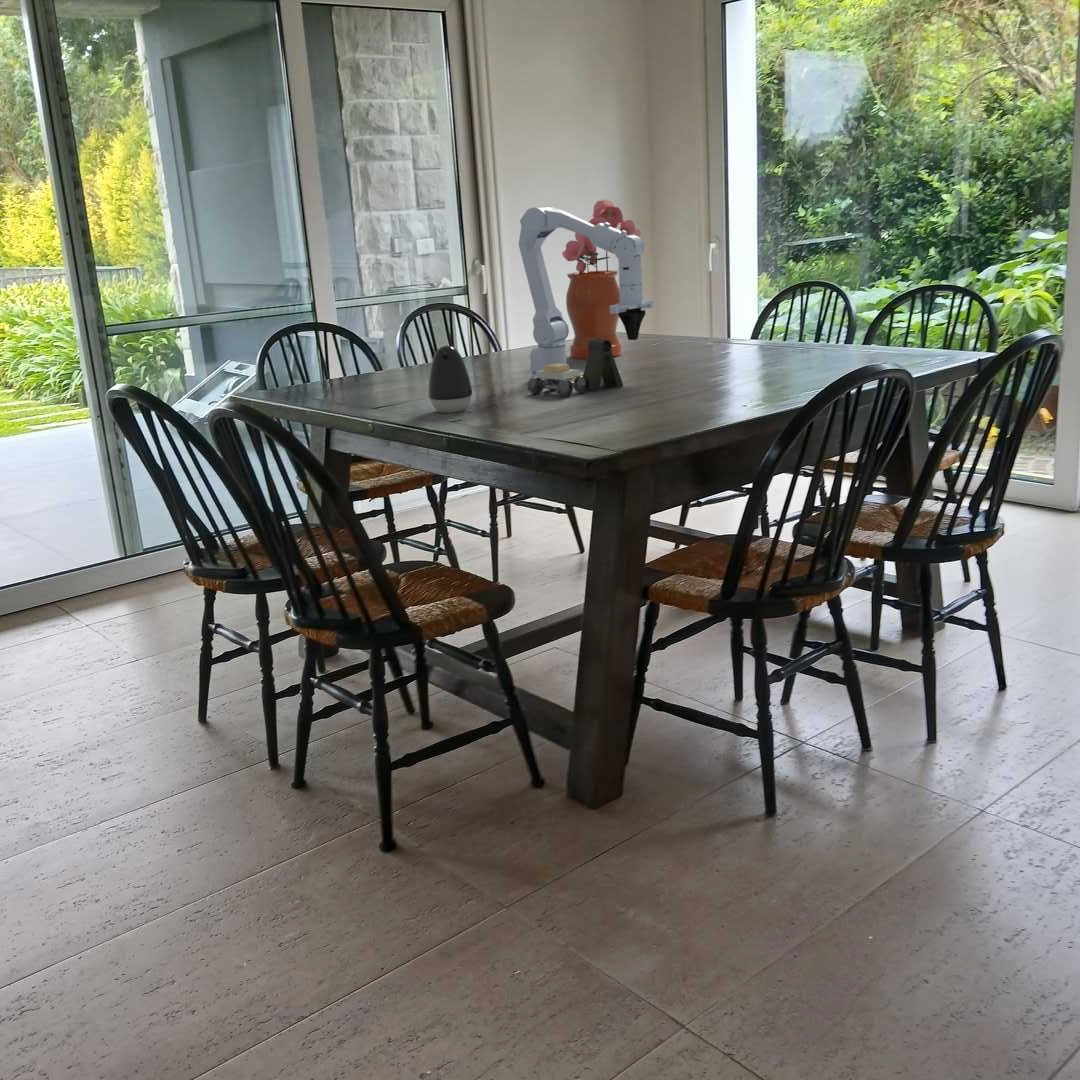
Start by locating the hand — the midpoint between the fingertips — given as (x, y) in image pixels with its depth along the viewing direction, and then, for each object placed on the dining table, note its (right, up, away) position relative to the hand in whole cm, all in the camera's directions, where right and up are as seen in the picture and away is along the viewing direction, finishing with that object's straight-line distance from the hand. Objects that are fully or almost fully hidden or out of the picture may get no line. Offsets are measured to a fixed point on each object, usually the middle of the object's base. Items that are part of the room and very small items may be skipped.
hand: (632, 339), depth 284 cm
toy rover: (-19, -15, -9) cm, 26 cm away
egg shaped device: (-44, -21, -24) cm, 54 cm away
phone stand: (-8, -13, -5) cm, 16 cm away
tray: (-8, -9, +6) cm, 14 cm away
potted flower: (-5, +5, +54) cm, 54 cm away
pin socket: (-12, -11, +1) cm, 16 cm away
